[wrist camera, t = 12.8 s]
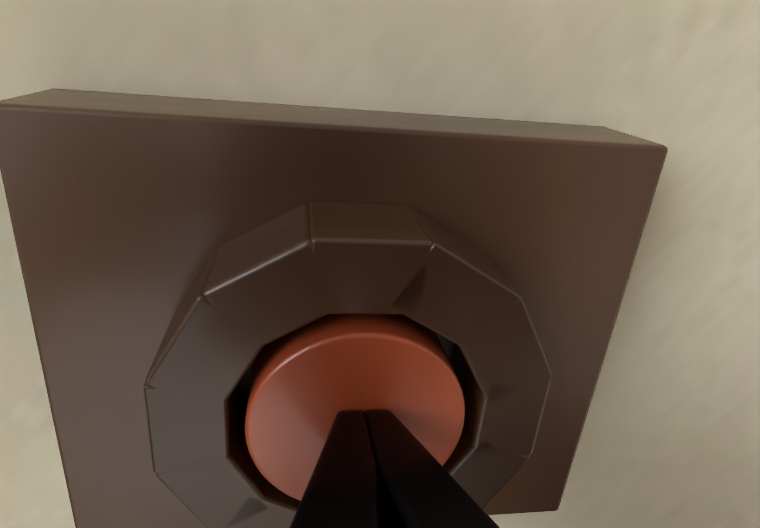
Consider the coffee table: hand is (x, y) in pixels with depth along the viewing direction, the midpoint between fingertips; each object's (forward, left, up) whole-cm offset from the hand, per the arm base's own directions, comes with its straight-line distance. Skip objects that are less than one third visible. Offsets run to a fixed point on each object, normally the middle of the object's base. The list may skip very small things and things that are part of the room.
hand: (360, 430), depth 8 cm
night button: (0, 0, -2) cm, 2 cm away
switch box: (0, 0, -4) cm, 4 cm away
